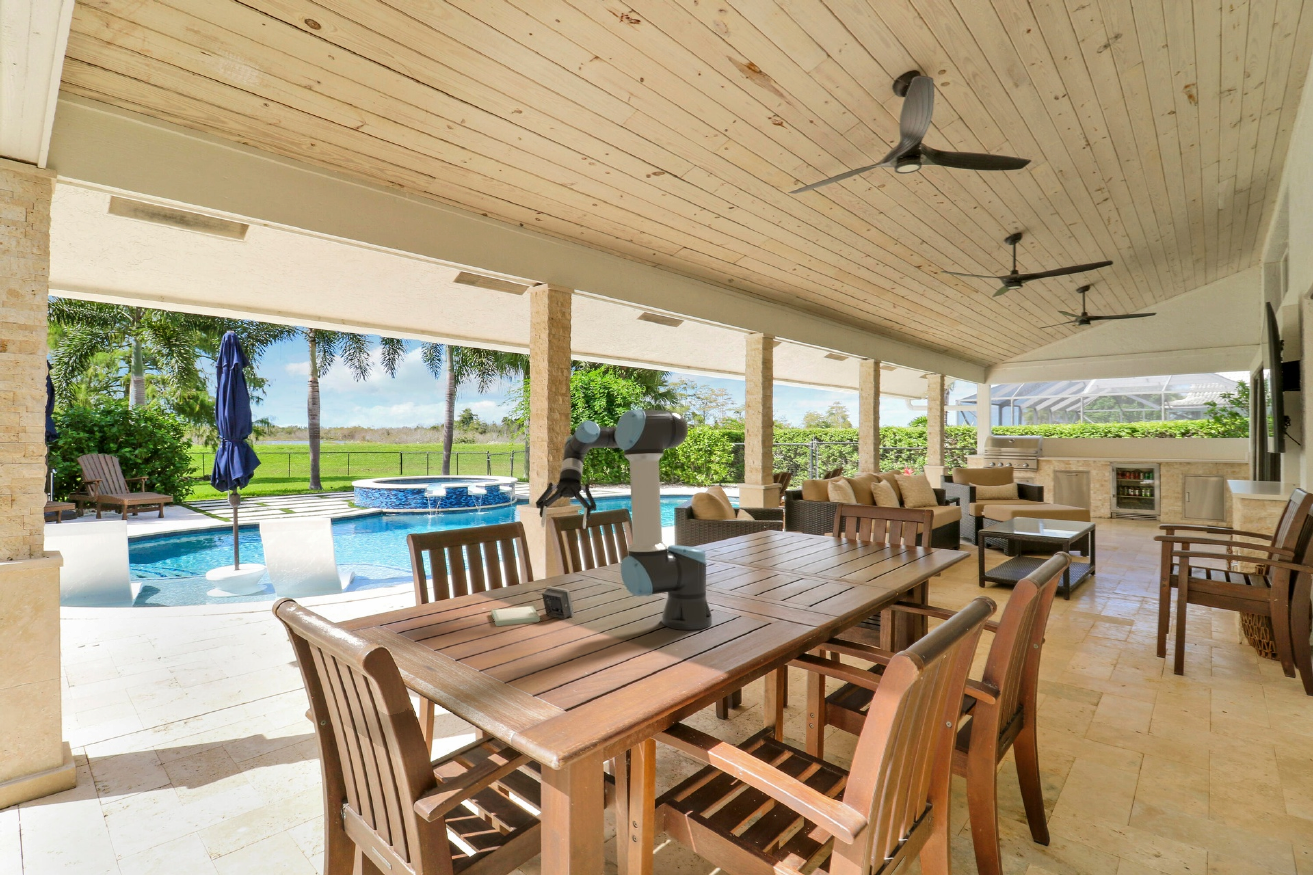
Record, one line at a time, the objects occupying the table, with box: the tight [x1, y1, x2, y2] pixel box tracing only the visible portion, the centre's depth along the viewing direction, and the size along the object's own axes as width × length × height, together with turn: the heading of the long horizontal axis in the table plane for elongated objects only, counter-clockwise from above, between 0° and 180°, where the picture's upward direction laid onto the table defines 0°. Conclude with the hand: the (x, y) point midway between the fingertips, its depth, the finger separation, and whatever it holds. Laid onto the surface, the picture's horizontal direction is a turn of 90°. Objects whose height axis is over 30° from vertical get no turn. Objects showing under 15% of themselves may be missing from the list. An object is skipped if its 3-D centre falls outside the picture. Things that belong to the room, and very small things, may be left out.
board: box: [490, 605, 541, 627], centre depth 194 cm, size 13×13×2 cm
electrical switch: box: [541, 585, 575, 620], centre depth 196 cm, size 9×5×9 cm, turn 57°
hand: (563, 525), depth 203 cm, fingers open, 13 cm apart
